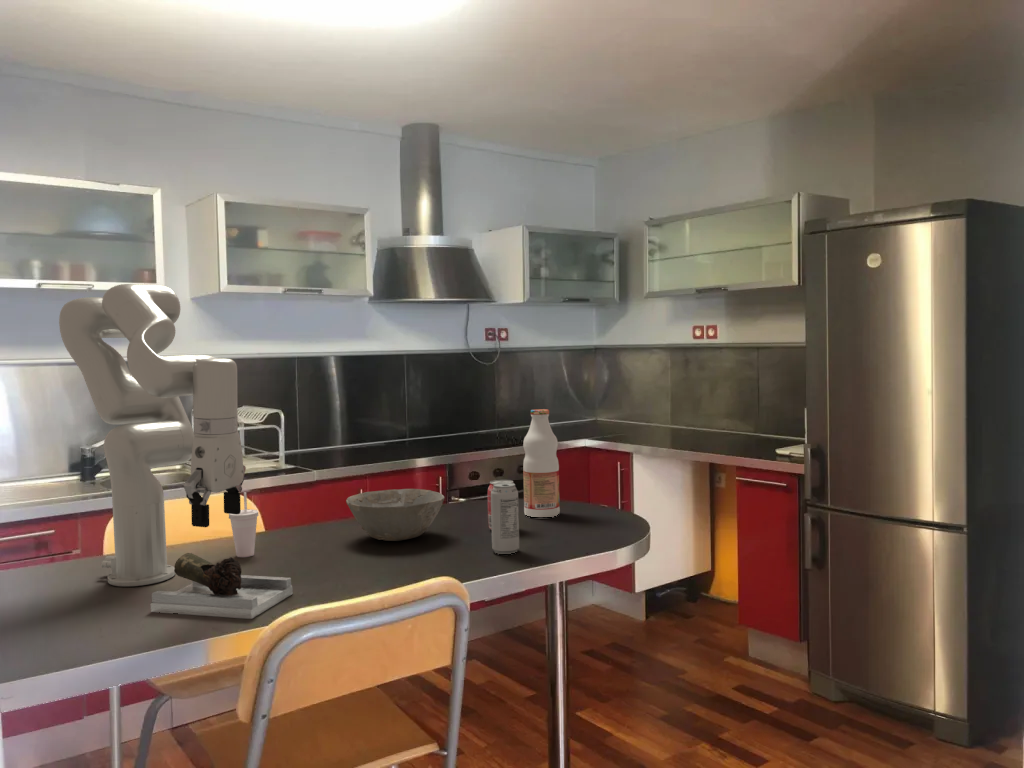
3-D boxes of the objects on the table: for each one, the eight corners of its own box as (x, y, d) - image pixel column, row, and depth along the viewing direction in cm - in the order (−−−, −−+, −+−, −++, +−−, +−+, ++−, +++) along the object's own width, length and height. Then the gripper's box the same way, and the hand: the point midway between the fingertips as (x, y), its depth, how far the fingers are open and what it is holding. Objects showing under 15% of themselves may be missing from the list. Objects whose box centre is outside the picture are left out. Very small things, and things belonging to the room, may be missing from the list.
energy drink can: (511, 547, 186) (510, 481, 185) (524, 553, 181) (522, 485, 180) (487, 550, 184) (485, 483, 183) (499, 557, 178) (498, 488, 177)
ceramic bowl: (452, 545, 189) (450, 502, 189) (349, 554, 184) (348, 509, 183) (437, 524, 211) (436, 486, 210) (345, 531, 205) (344, 491, 205)
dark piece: (175, 580, 156) (170, 552, 155) (208, 567, 161) (204, 540, 160) (223, 606, 145) (219, 576, 144) (257, 591, 150) (253, 562, 148)
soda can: (522, 528, 204) (521, 480, 203) (506, 534, 198) (505, 485, 198) (498, 525, 208) (497, 478, 207) (482, 531, 202) (481, 482, 201)
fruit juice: (516, 515, 219) (514, 410, 217) (540, 510, 226) (538, 407, 224) (543, 520, 212) (541, 412, 211) (567, 514, 219) (565, 409, 218)
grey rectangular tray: (151, 611, 147) (150, 594, 146) (199, 588, 160) (198, 572, 160) (251, 618, 142) (250, 600, 142) (292, 593, 155) (291, 577, 155)
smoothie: (265, 554, 185) (263, 492, 184) (239, 560, 180) (236, 496, 179) (251, 549, 189) (248, 489, 188) (224, 555, 184) (222, 493, 184)
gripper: (205, 434, 140) (206, 533, 141) (260, 421, 157) (260, 510, 158) (166, 432, 142) (168, 530, 143) (225, 419, 158) (226, 507, 160)
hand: (216, 519), depth 151 cm, fingers open, 9 cm apart
